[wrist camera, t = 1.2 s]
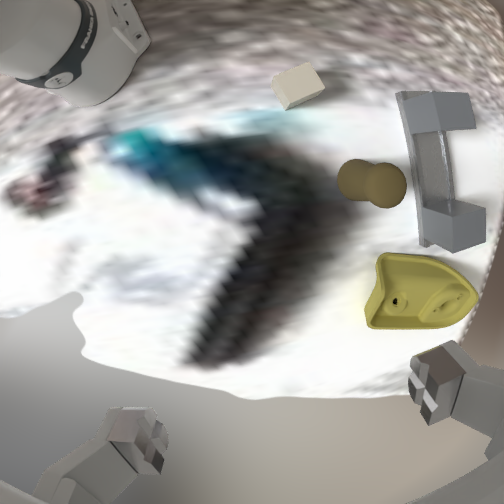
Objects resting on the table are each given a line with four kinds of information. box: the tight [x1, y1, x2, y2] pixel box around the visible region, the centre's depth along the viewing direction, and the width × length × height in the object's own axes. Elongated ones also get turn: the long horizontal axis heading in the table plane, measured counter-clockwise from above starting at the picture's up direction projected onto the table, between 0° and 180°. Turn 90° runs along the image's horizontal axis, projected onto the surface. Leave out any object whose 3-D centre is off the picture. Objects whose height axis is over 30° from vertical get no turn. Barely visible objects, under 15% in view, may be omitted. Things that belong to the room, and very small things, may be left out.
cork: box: [337, 159, 407, 208], centre depth 34 cm, size 6×6×11 cm
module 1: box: [402, 92, 476, 134], centre depth 30 cm, size 5×7×8 cm
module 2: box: [421, 200, 486, 253], centre depth 35 cm, size 5×7×8 cm
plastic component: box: [364, 253, 478, 329], centre depth 42 cm, size 20×7×10 cm
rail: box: [395, 91, 455, 248], centre depth 37 cm, size 24×7×2 cm, turn 14°
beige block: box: [271, 62, 325, 111], centre depth 33 cm, size 4×5×5 cm
